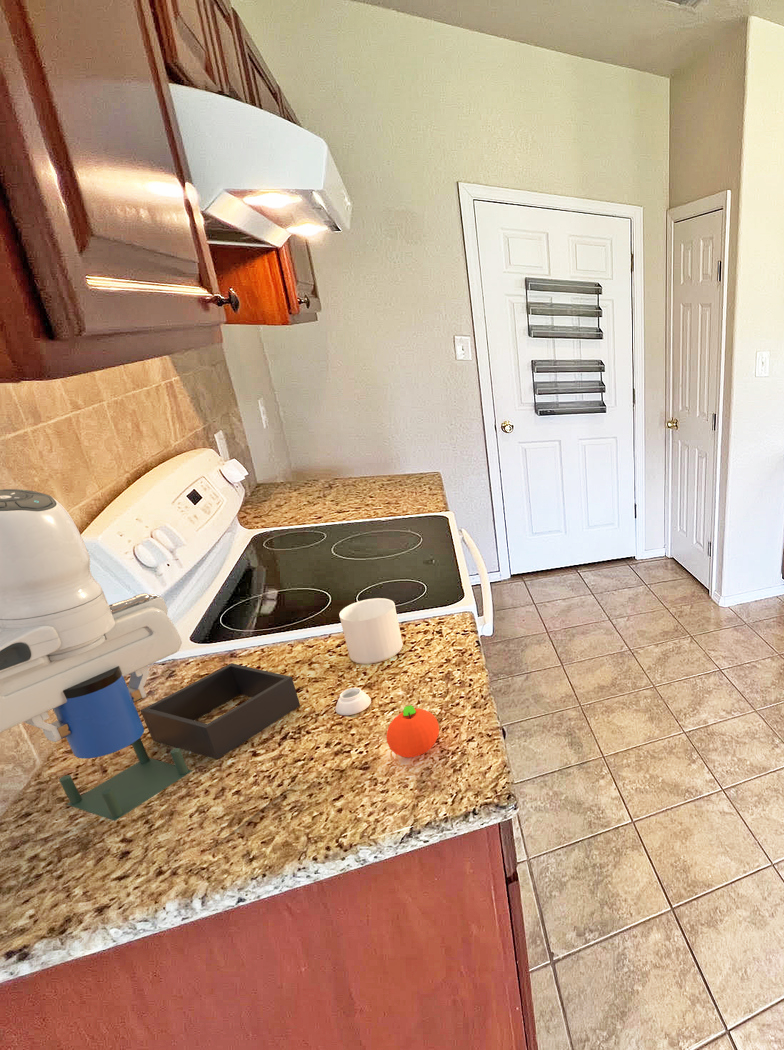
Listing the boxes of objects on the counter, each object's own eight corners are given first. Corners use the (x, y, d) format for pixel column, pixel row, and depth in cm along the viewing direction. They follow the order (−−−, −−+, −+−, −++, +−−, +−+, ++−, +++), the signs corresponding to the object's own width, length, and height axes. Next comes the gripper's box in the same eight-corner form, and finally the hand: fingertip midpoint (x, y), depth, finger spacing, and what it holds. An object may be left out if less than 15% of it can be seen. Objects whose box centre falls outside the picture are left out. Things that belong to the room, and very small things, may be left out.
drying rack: (68, 809, 74) (53, 780, 73) (149, 762, 83) (137, 734, 81) (117, 826, 72) (103, 796, 71) (195, 775, 80) (184, 747, 79)
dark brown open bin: (155, 746, 86) (139, 710, 83) (242, 695, 97) (231, 662, 95) (219, 764, 83) (205, 727, 80) (301, 710, 94) (291, 676, 92)
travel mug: (59, 752, 72) (27, 685, 68) (122, 719, 78) (96, 656, 74) (96, 764, 71) (65, 695, 67) (157, 730, 77) (132, 665, 73)
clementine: (388, 741, 88) (379, 703, 85) (437, 726, 91) (430, 689, 89) (393, 774, 82) (384, 734, 79) (445, 756, 85) (438, 717, 83)
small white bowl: (378, 702, 97) (356, 695, 98) (375, 687, 95) (352, 681, 97) (352, 720, 92) (329, 713, 94) (348, 705, 91) (325, 698, 93)
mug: (402, 658, 109) (393, 615, 105) (346, 668, 105) (335, 624, 102) (405, 628, 119) (397, 589, 116) (354, 637, 115) (345, 596, 112)
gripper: (142, 584, 78) (173, 669, 83) (-89, 663, 60) (-31, 767, 65) (176, 591, 77) (205, 677, 82) (-50, 674, 58) (6, 779, 63)
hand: (99, 717), depth 73 cm, fingers closed on travel mug, 6 cm apart
